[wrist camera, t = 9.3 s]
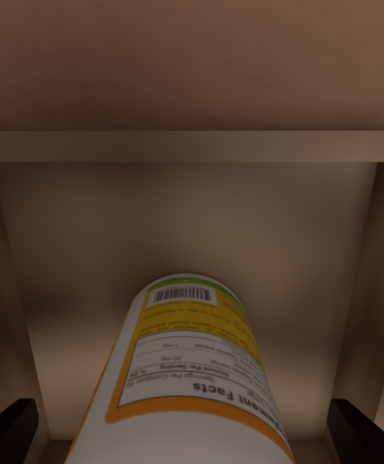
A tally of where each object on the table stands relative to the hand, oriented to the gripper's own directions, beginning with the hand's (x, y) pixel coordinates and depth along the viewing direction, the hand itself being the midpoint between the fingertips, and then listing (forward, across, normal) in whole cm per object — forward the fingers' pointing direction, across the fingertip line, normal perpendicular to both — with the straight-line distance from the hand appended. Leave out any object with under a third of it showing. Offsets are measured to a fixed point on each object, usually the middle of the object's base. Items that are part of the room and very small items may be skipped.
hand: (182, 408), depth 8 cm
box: (+5, 0, 0) cm, 5 cm away
